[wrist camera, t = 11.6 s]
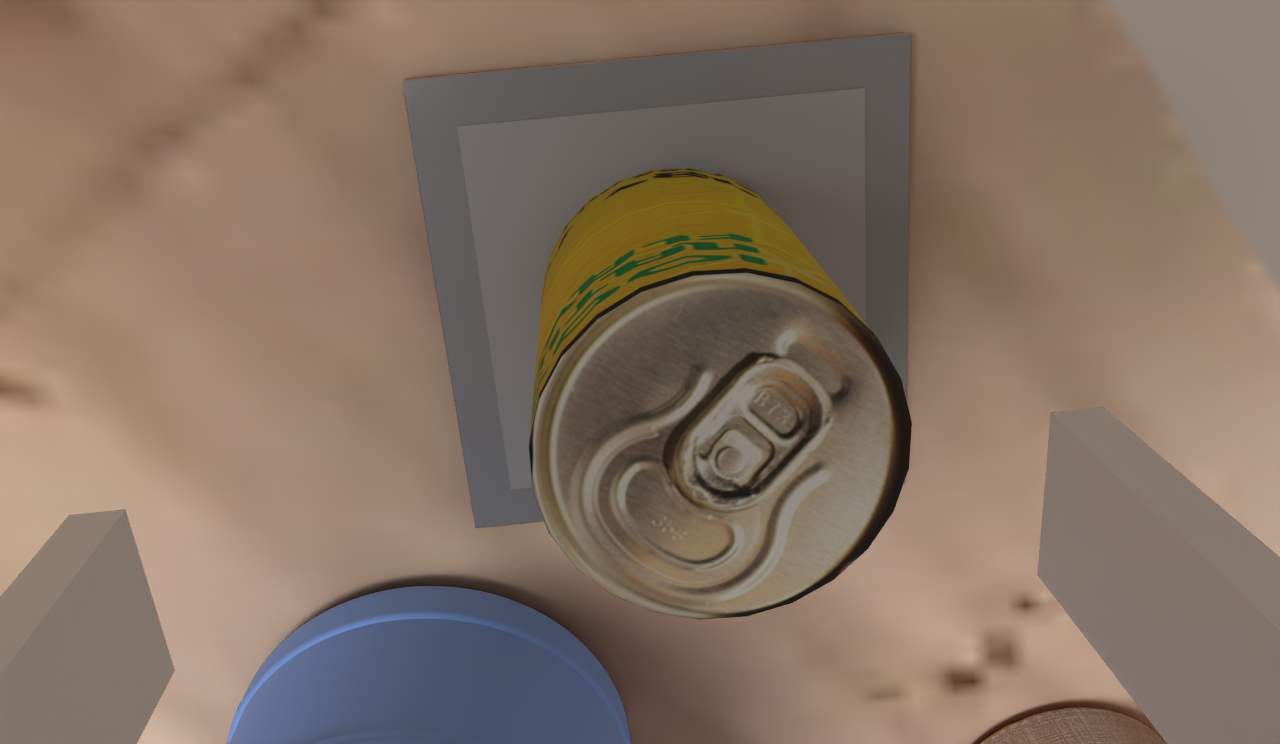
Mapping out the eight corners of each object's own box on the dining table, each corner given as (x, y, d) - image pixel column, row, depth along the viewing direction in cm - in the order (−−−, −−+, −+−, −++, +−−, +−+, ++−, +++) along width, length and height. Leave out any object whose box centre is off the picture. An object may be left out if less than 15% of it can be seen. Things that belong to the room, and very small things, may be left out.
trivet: (477, 517, 39) (475, 529, 38) (405, 78, 33) (401, 82, 32) (898, 473, 40) (906, 484, 39) (903, 32, 34) (911, 34, 33)
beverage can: (490, 333, 36) (454, 505, 24) (643, 111, 33) (680, 191, 22) (701, 464, 38) (756, 675, 27) (859, 266, 36) (990, 409, 24)
